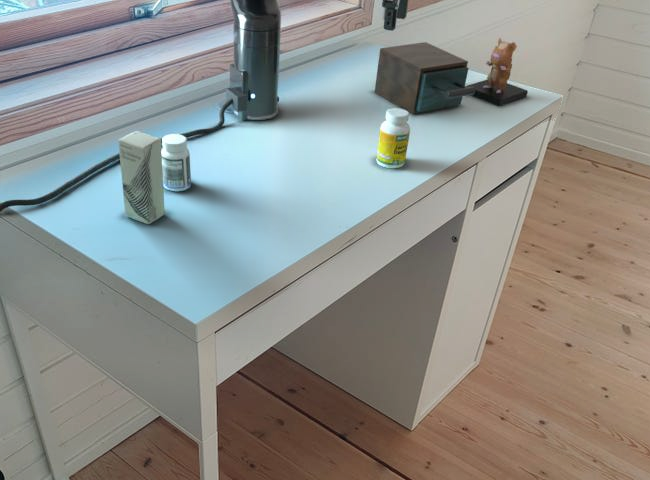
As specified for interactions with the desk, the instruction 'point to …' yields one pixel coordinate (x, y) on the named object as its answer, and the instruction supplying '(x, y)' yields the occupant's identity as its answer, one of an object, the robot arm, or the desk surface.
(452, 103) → the drawer
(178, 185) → the pill bottle
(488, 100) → the figurine
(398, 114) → the supplement bottle
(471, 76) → the desk surface
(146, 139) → the box
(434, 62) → the cabinet
